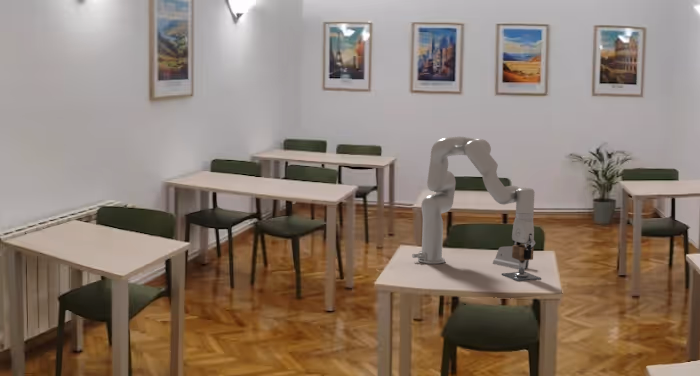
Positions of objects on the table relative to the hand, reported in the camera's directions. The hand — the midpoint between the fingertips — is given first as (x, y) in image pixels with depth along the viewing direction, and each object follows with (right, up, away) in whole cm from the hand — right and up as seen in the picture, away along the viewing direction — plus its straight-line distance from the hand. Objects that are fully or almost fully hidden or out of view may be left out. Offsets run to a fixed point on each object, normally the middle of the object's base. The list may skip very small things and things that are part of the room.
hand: (522, 256), depth 346 cm
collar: (0, -1, 0) cm, 1 cm away
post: (0, -9, +1) cm, 9 cm away
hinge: (0, -6, +23) cm, 24 cm away
